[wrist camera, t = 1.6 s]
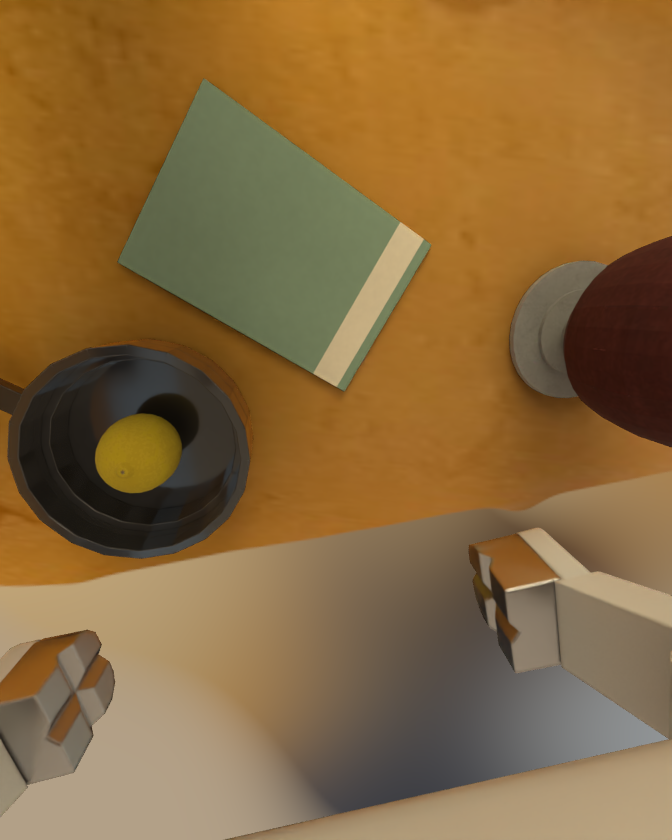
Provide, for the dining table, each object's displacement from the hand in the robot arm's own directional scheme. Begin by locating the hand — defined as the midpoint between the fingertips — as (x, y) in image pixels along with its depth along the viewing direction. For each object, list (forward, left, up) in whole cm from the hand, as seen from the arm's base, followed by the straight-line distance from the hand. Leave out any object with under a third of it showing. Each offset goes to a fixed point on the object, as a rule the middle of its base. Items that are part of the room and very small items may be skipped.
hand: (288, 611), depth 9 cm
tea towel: (-5, +9, -27) cm, 29 cm away
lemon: (-7, -9, -27) cm, 29 cm away
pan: (-7, -9, -27) cm, 29 cm away
